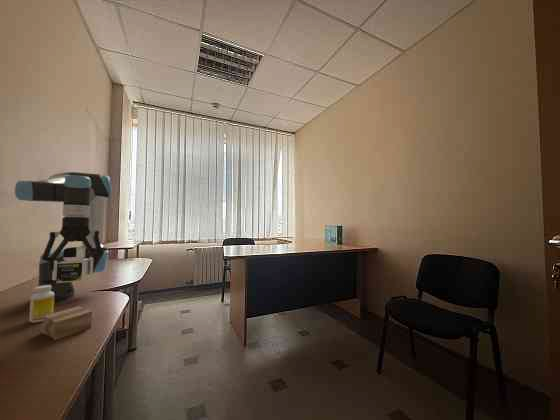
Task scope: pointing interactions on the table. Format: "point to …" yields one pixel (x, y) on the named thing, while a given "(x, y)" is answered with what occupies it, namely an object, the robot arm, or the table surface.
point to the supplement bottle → (41, 303)
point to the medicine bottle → (73, 266)
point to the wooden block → (66, 322)
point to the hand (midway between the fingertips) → (73, 276)
